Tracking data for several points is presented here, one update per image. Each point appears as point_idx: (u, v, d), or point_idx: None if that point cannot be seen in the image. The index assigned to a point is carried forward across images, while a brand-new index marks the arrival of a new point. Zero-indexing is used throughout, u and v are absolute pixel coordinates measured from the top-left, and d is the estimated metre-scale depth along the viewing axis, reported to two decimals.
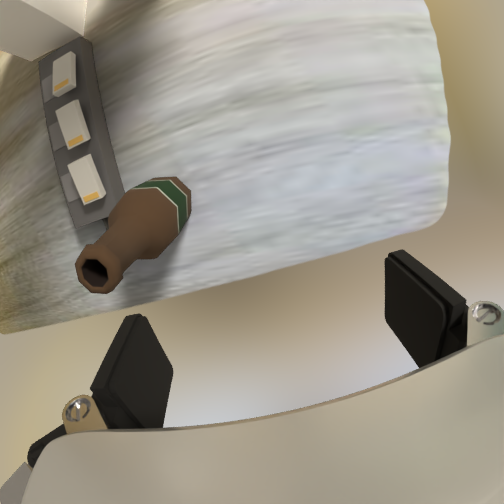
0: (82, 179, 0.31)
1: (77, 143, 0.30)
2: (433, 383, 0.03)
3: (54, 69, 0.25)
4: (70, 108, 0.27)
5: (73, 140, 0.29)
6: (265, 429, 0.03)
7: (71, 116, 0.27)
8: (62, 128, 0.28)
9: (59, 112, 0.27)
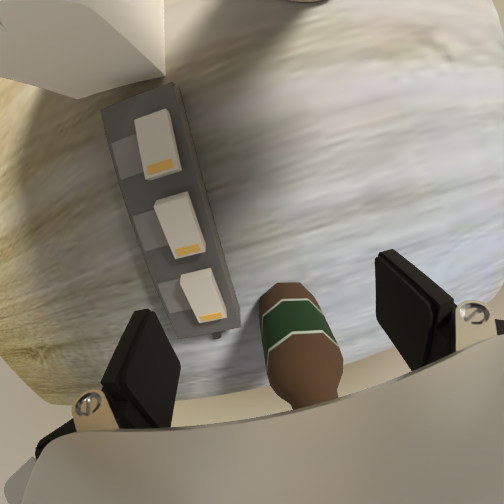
0: (202, 299, 0.29)
1: (190, 253, 0.28)
2: (433, 383, 0.03)
3: (139, 134, 0.23)
4: (180, 207, 0.25)
5: (184, 249, 0.27)
6: (265, 429, 0.03)
7: (181, 218, 0.26)
8: (166, 231, 0.26)
9: (161, 210, 0.25)
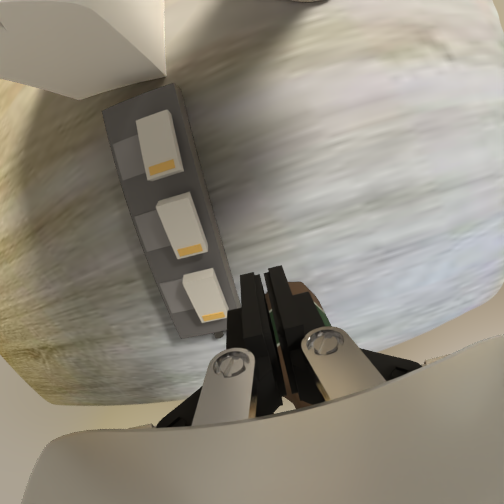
0: (204, 299, 0.29)
1: (193, 253, 0.28)
2: (433, 383, 0.03)
3: (141, 135, 0.23)
4: (182, 207, 0.25)
5: (187, 249, 0.27)
6: (265, 429, 0.03)
7: (183, 218, 0.26)
8: (168, 232, 0.26)
9: (164, 210, 0.25)
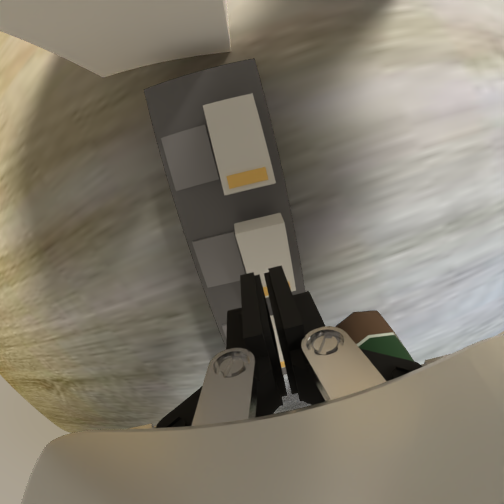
0: None
1: None
2: (433, 383, 0.03)
3: (213, 128, 0.16)
4: (274, 236, 0.18)
5: None
6: (265, 429, 0.03)
7: (273, 250, 0.19)
8: (248, 267, 0.20)
9: (246, 239, 0.18)
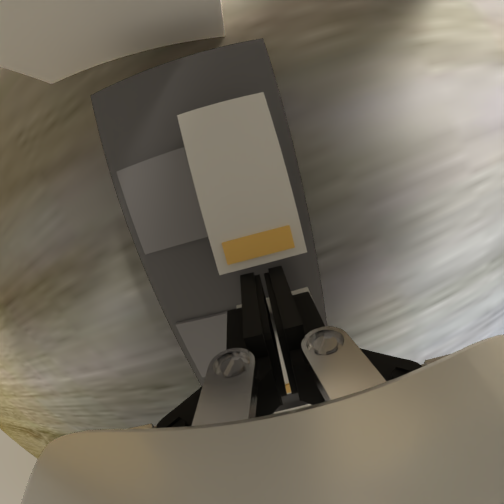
0: None
1: None
2: (433, 383, 0.03)
3: (196, 155, 0.09)
4: None
5: (289, 386, 0.14)
6: (265, 429, 0.03)
7: None
8: None
9: None
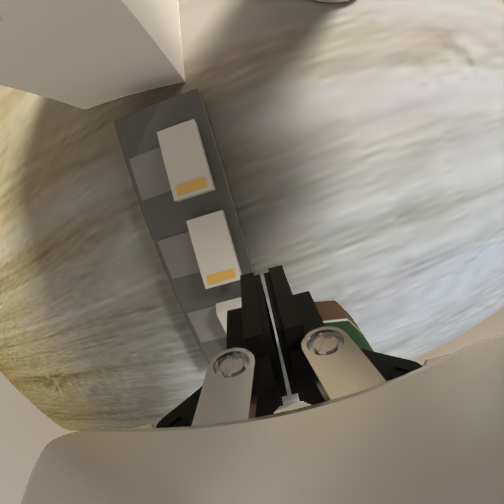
0: None
1: (224, 281, 0.24)
2: (433, 383, 0.03)
3: (164, 149, 0.21)
4: (215, 222, 0.24)
5: (217, 275, 0.24)
6: (265, 429, 0.03)
7: (215, 235, 0.24)
8: (197, 252, 0.24)
9: (194, 225, 0.24)
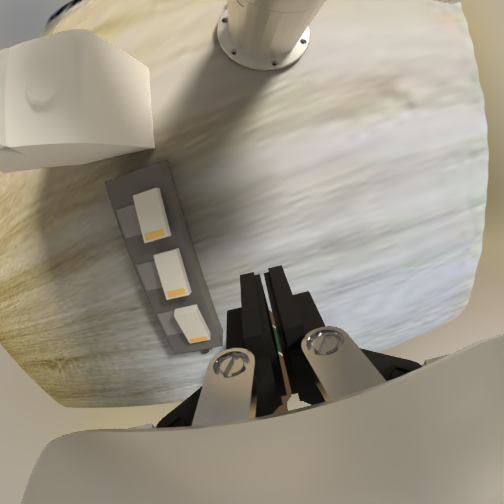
0: (191, 326, 0.38)
1: (178, 295, 0.35)
2: (433, 383, 0.03)
3: (138, 208, 0.32)
4: (172, 257, 0.35)
5: (173, 291, 0.35)
6: (265, 429, 0.03)
7: (172, 265, 0.35)
8: (161, 276, 0.35)
9: (158, 258, 0.35)
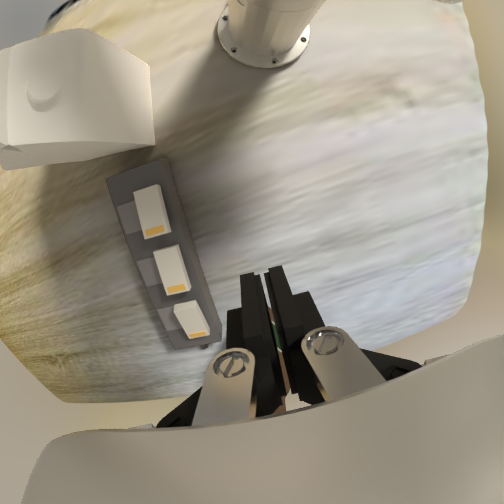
0: (190, 322, 0.38)
1: (178, 291, 0.36)
2: (432, 383, 0.03)
3: (138, 204, 0.32)
4: (171, 253, 0.35)
5: (174, 287, 0.36)
6: (265, 429, 0.03)
7: (172, 262, 0.35)
8: (161, 272, 0.35)
9: (158, 255, 0.35)
